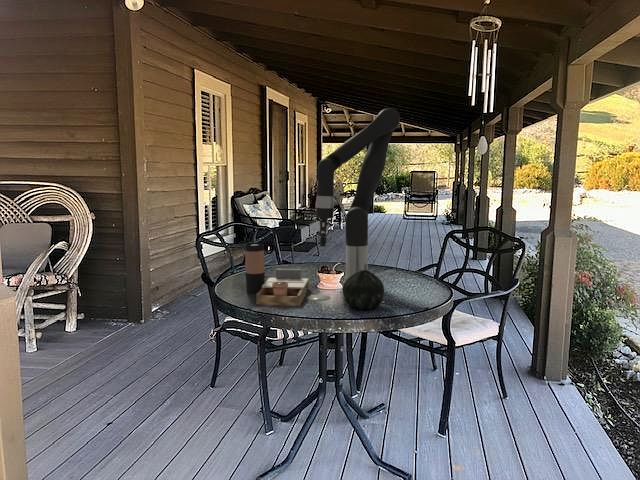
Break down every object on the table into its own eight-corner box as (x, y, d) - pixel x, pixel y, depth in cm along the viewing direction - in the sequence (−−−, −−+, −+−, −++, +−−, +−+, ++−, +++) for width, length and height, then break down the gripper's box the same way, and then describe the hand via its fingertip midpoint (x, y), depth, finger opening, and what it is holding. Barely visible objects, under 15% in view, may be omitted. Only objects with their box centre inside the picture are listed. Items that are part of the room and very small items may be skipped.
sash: (308, 279, 205) (308, 269, 205) (303, 288, 191) (303, 277, 190) (269, 279, 207) (269, 268, 206) (261, 287, 193) (261, 276, 192)
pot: (289, 299, 191) (289, 281, 190) (286, 304, 185) (286, 285, 184) (274, 299, 191) (274, 281, 190) (271, 303, 186) (270, 284, 185)
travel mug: (242, 294, 202) (241, 245, 199) (251, 289, 209) (250, 242, 206) (259, 296, 199) (258, 246, 196) (268, 291, 206) (267, 243, 203)
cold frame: (308, 291, 206) (308, 280, 206) (299, 307, 183) (299, 295, 182) (270, 290, 208) (269, 279, 207) (256, 306, 184) (256, 294, 184)
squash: (362, 284, 195) (348, 259, 185) (396, 291, 186) (382, 266, 176) (345, 314, 189) (329, 290, 179) (379, 323, 179) (364, 298, 170)
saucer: (331, 296, 197) (331, 294, 197) (329, 303, 189) (329, 301, 188) (308, 296, 198) (308, 294, 198) (305, 302, 190) (305, 300, 189)
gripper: (333, 208, 205) (331, 247, 207) (334, 205, 219) (332, 242, 221) (314, 207, 205) (313, 247, 208) (316, 204, 219) (315, 241, 222)
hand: (323, 244), depth 215 cm, fingers open, 8 cm apart
